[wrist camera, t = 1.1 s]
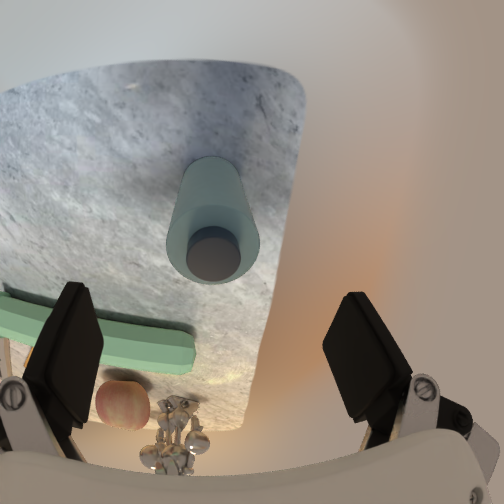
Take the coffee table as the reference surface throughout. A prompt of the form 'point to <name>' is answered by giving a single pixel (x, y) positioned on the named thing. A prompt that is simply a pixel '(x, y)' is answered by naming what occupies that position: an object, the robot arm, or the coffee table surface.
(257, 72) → the coffee table surface
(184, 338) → the container
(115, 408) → the apple
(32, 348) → the board
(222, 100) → the coffee table surface
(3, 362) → the picture frame
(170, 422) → the robot toy
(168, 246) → the bottle
